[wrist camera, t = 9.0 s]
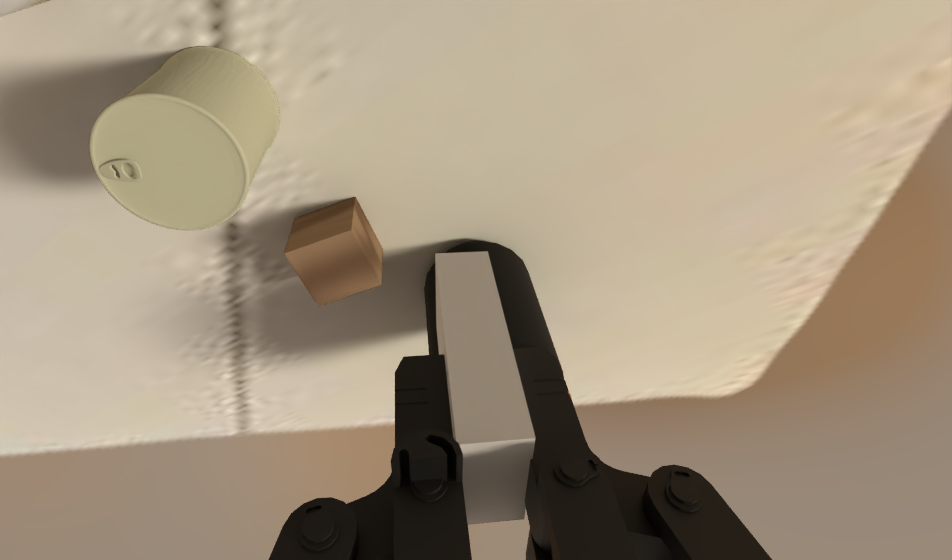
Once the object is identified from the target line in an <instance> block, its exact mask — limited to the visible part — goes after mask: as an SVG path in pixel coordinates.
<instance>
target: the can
mask: <svg viewBox="0 0 952 560" xmlns="http://www.w3.org/2000/svg"><path fill="white" fill-rule="evenodd" d="M279 123H280V112H279V106H278V102H277V99H276V96H275V94H274V91H273V89H272V88H271V86H270V84H269V83H268V81H267V80H266V78H265V77H264V76H263V75H262V73H261V72H260V71H259V70H258V69H257V68H256V67H254V66H253V65H252V64H251V63H249V62H248V61H247V60H245V59H244V58H242V57H240V56H238V55H237V54H234V53H232V52H230V51H227V50H224V49H220V48H215V47H207V46H199V47H192V48H187V49H184V50H182V51H179V52H178V53H176V54H174V55H173V56H171V57H170V58H169V59H168V60H166V62H165V63H164V64H163V65H162V67H161V68H160V69H159V70H158V71H157V72H156V73H154V74H153V75H152V76H151V77H149V78H148V79H147V80H145V81H144V82H143V83H141V84H140V85H139V86H138V87H136V88H135V89H134V90H132V91H131V92H130V93H128V94H127V95H126V96H124V97H123V98H121V99H119V100H117V101H115V102H113V103H112V104H110V105H109V106H108V107H107V108H105V109H104V110H103V111H102V113H101V114H100V115H99V116H98V118H97V119H96V121H95V123H94V125H93V127H92V130H91V134H90V140H89V150H90V157H91V162H92V165H93V168H94V170H95V172H96V174H97V176H98V178H99V180H100V182H101V183H102V185H103V186H104V187H105V189H106V190H107V191H108V193H109V194H110V195H111V196H112V197H113V198H114V199H115V200H116V201H117V202H118V203H119V204H121V205H122V206H123V207H124V208H126V209H127V210H128V211H130V212H131V213H133V214H135V215H136V216H138V217H140V218H142V219H144V220H146V221H148V222H150V223H153V224H156V225H159V226H162V227H166V228H170V229H176V230H200V229H206V228H210V227H213V226H216V225H218V224H221V223H222V222H224V221H226V220H228V219H229V218H230V217H232V216H233V215H234V214H235V213H236V212H237V211H238V210H239V209H240V207H241V206H242V204H243V203H244V201H245V199H246V196H247V193H248V190H249V186H250V184H251V182H252V180H253V177H254V175H255V173H256V171H257V169H258V167H259V165H260V163H261V161H262V158H263V156H264V154H265V152H266V150H267V149H268V148H269V147H270V146H271V144H272V143H273V141H274V139H275V137H276V135H277V132H278V129H279Z"/></svg>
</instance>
